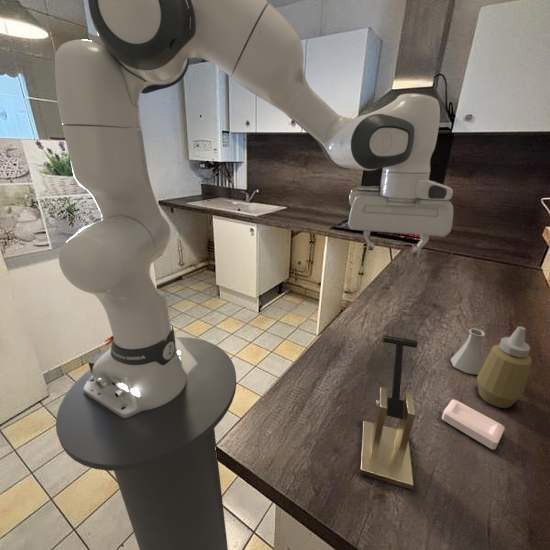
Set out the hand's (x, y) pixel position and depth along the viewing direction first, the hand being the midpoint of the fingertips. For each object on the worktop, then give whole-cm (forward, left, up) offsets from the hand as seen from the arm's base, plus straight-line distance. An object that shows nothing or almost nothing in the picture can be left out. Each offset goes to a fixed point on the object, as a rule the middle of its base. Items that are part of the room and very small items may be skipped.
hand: (392, 251), depth 64 cm
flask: (+22, +4, -29) cm, 37 cm away
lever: (+2, -23, -15) cm, 27 cm away
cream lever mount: (+2, -27, -29) cm, 40 cm away
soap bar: (+18, -16, -29) cm, 38 cm away
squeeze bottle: (+25, -6, -29) cm, 39 cm away
